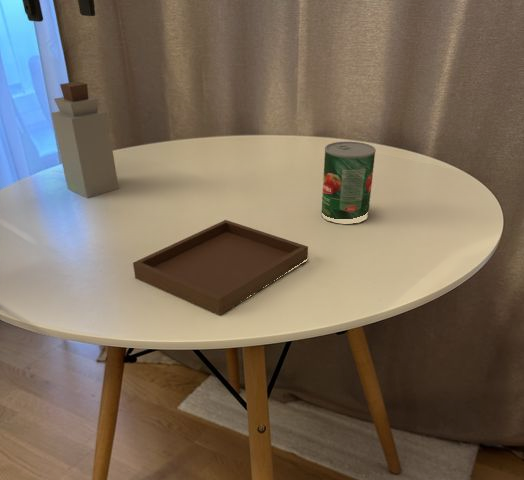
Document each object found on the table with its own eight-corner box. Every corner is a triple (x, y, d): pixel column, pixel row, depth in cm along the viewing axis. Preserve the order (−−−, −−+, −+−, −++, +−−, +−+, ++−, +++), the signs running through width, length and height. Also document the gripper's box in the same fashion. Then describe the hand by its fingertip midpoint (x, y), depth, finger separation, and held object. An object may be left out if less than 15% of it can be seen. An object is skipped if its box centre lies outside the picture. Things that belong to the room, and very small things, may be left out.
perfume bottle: (87, 198, 99) (65, 89, 88) (67, 189, 103) (45, 84, 92) (118, 188, 103) (101, 83, 92) (99, 180, 107) (80, 78, 96)
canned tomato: (378, 218, 91) (386, 150, 84) (341, 228, 87) (347, 158, 81) (347, 203, 96) (352, 138, 90) (311, 213, 93) (314, 146, 86)
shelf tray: (219, 315, 66) (219, 299, 65) (135, 277, 74) (132, 262, 73) (307, 261, 78) (308, 246, 77) (226, 233, 86) (225, 219, 85)
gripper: (71, -118, 84) (92, 12, 94) (-38, -127, 73) (-1, 21, 83) (102, -122, 80) (121, 14, 90) (-9, -131, 69) (27, 25, 80)
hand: (62, 18), depth 87 cm, fingers open, 9 cm apart
